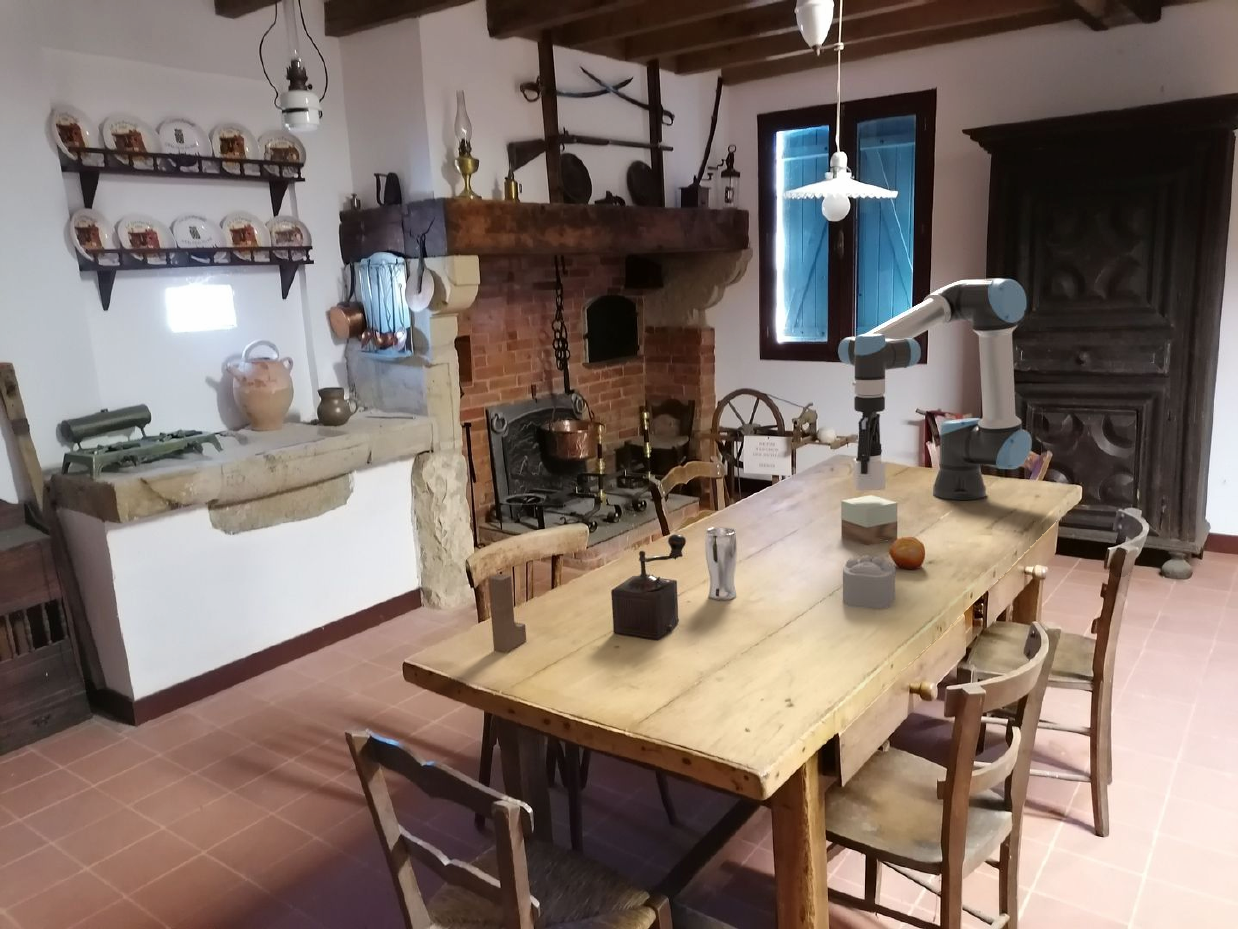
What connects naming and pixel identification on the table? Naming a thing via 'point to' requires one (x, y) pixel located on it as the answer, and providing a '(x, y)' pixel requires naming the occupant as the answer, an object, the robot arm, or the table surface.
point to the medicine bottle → (876, 469)
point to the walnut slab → (869, 532)
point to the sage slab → (869, 511)
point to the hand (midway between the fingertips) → (869, 481)
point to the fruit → (907, 553)
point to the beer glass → (721, 561)
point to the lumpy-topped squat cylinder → (869, 583)
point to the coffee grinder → (647, 600)
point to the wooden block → (504, 615)
